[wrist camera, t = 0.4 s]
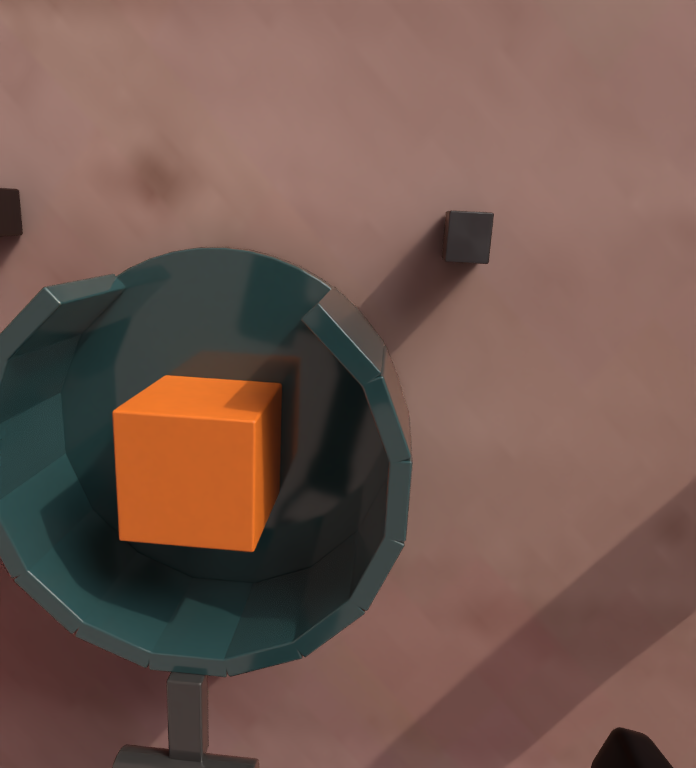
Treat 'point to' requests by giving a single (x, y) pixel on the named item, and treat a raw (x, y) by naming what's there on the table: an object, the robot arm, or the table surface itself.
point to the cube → (198, 462)
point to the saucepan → (192, 564)
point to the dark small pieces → (461, 240)
